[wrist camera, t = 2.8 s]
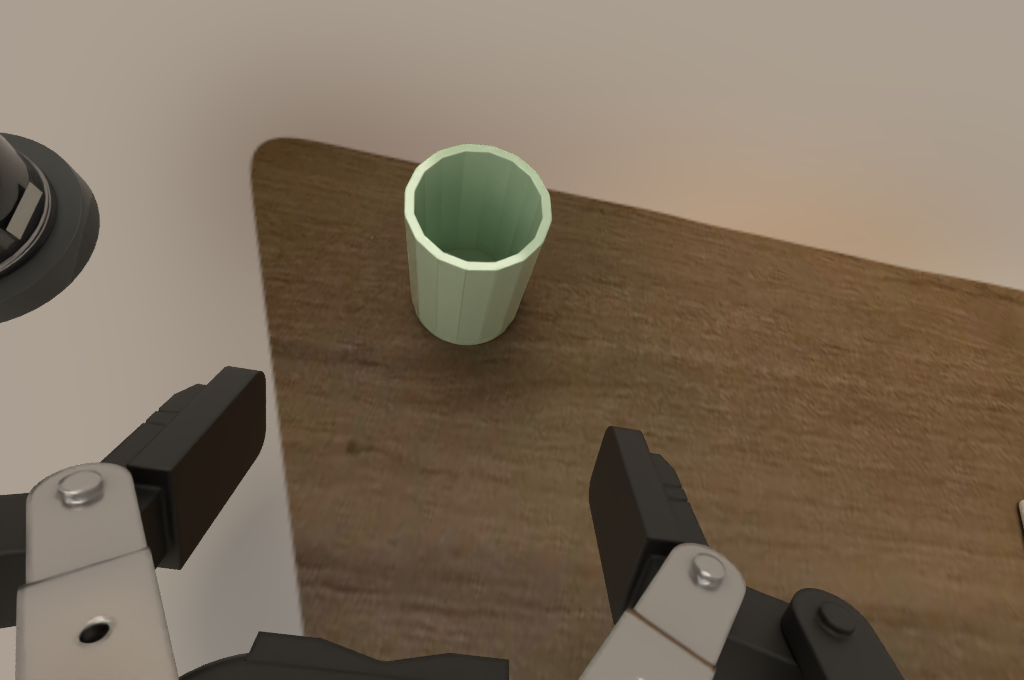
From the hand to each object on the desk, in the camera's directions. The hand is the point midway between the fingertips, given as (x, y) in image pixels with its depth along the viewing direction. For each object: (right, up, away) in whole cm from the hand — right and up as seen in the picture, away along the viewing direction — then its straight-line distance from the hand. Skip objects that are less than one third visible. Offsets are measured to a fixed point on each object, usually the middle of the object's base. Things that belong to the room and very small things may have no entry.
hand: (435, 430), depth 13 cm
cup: (-1, +5, +18) cm, 18 cm away
